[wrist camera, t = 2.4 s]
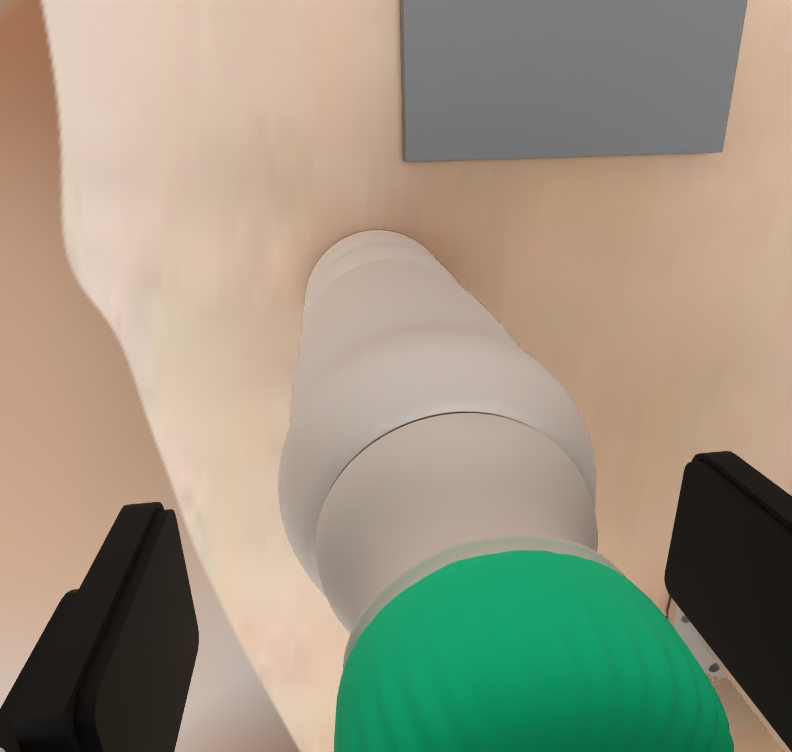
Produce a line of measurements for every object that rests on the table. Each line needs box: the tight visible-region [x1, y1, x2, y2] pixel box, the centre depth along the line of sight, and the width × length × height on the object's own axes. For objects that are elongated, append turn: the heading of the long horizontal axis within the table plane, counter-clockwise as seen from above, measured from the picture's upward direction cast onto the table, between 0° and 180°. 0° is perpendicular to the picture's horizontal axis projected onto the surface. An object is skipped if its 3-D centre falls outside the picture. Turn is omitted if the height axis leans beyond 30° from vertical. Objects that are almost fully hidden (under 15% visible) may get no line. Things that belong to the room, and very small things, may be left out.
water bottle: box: [278, 230, 734, 752], centre depth 18 cm, size 7×7×25 cm
